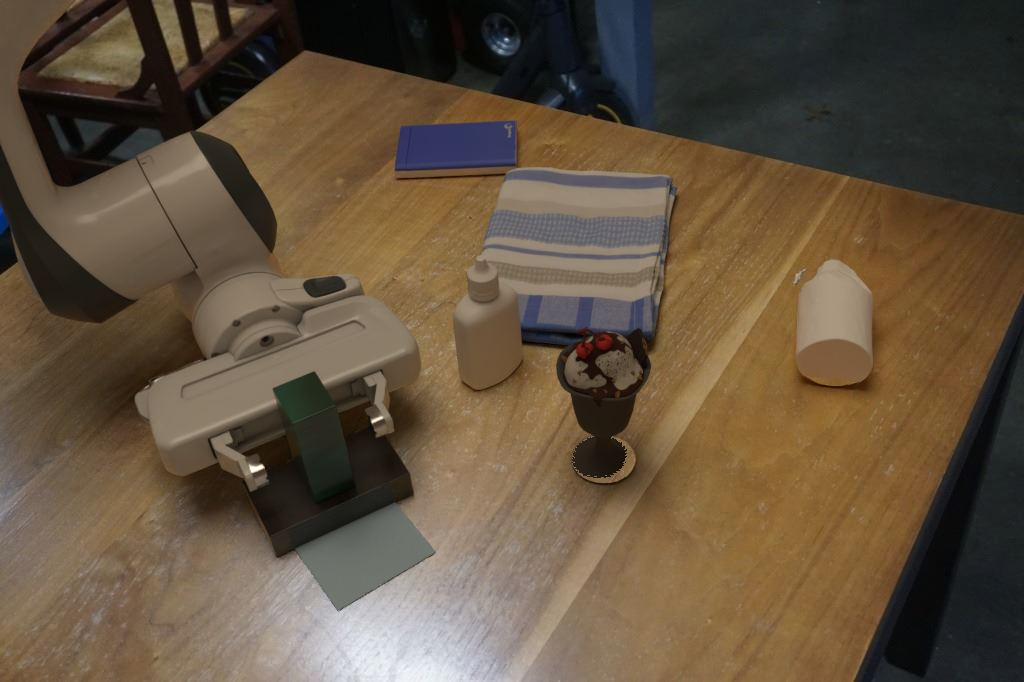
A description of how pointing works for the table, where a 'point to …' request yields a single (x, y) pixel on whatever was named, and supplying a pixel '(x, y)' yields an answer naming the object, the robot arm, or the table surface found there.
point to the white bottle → (834, 325)
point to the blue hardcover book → (456, 149)
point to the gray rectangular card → (364, 554)
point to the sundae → (603, 394)
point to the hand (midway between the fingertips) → (322, 455)
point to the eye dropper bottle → (487, 328)
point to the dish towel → (581, 250)
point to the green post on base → (323, 471)
